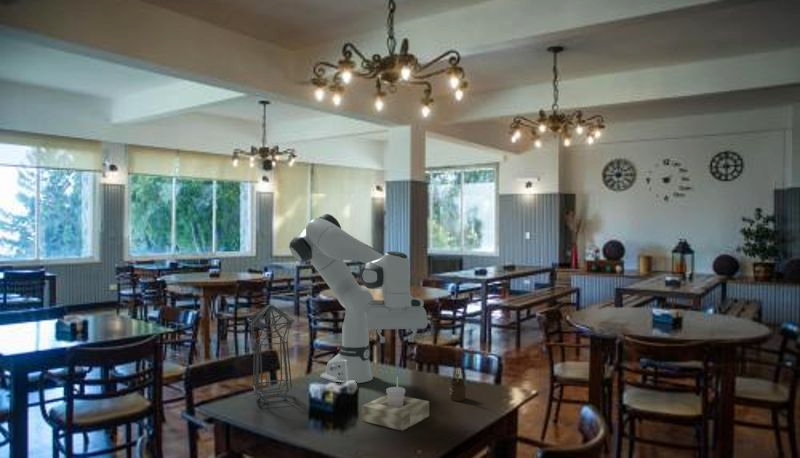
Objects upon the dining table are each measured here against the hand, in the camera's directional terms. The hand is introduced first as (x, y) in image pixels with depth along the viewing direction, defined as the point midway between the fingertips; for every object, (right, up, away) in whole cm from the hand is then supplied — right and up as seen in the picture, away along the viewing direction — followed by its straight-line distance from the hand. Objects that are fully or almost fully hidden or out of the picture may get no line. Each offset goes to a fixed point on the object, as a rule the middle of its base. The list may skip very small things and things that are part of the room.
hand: (396, 342), depth 186 cm
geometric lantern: (-47, -25, +20) cm, 57 cm away
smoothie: (0, -25, 0) cm, 25 cm away
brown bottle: (+22, -25, +21) cm, 40 cm away
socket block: (0, -25, 0) cm, 25 cm away
